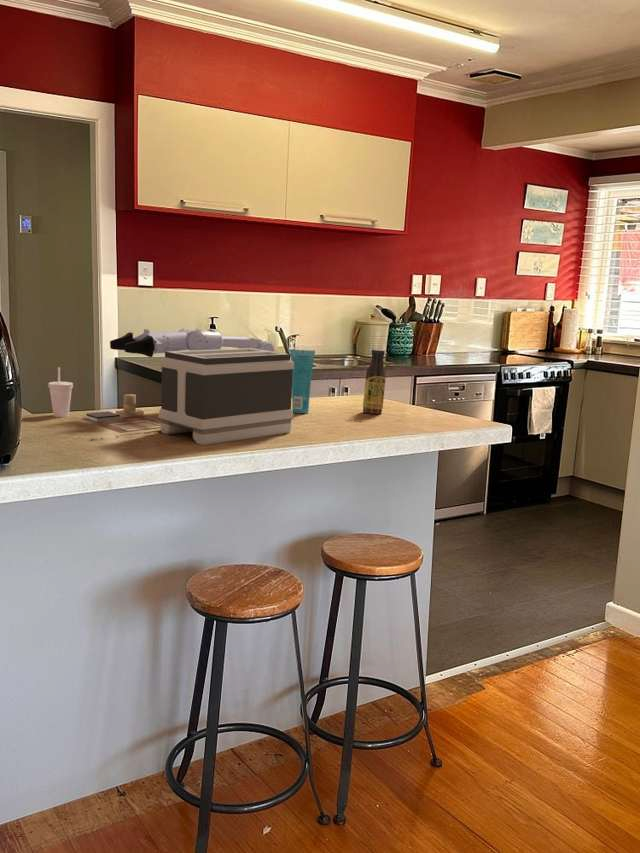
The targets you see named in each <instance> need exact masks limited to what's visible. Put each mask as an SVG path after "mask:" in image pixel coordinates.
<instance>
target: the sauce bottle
mask: <svg viewBox="0 0 640 853" xmlns="http://www.w3.org/2000/svg"><path fill="white" fill-rule="evenodd" d="M385 353H386V352H385V350H384V349H379V348H378V349H377V348H376V349H375V348H373V349H371V361H370V365H369V366H368V368H367V369H366V372H365V373H366V374H365V375H366V376H365V379H364V380H365V384H364V393H363V400H362V412H363V413H365V414H368V415H369V414H371V415H381V414H382V412H383V408H384V399H385V389H386V377H387V376H386V368H385V366H384V359H385V358H384V356H385V355H386V354H385Z"/></svg>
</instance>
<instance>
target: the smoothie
mask: <svg viewBox="0 0 640 853" xmlns="http://www.w3.org/2000/svg"><path fill="white" fill-rule="evenodd" d="M47 386H48V388H49V391H50V392H49V394H50V400H51V407H52V414H53V417H56V418H67V417H69V415H70V408H71V401H72V400H71V399H72V390H73V388H74V383H73V382H71V381H61V366H60V367H57V381H51V382H50V381H49V382H48V384H47Z"/></svg>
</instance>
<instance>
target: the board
mask: <svg viewBox="0 0 640 853" xmlns="http://www.w3.org/2000/svg"><path fill="white" fill-rule="evenodd" d="M77 419H79V420H81V421H84V422H87V423H90V424H93V425H96V426H99V427H102V428H104V429H106V430H107V429H108V430H111V431H114V432H116V433H121V434H122V435H121V434H119V437H122V436H124V434H123V433H126V436H130V435H132V436H133V433H132V432H136V433H135V435H139V434H141V432H140V431H145V432H143V434H148V433H149V431H150V430H154V431H151V433H154V432H158V430H159V429H161V420H160V419H159V418H155V417H151V416H148V415H145V414H144V417H138V418H129V419H123V420H119V421H110V422H100V423H96V422H93V421H90V420H87V419H84V417H78V418H77ZM157 429H158V430H157ZM148 430H149V431H148ZM129 432H131V433H129ZM127 433H128V434H127Z"/></svg>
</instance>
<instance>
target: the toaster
mask: <svg viewBox="0 0 640 853" xmlns="http://www.w3.org/2000/svg"><path fill="white" fill-rule="evenodd" d="M159 364H160V368H161V397H160V398H161V399H160V400H161V404H160V406H161V408H160V409H159V411H158V418H157V419H158V420H161V428H160V433H161V434H164V435H168V436H169V435H174V434H183V433H190V432H191V433H192V439H193V440H194V442H195V443H196V444H197V445H200V446H209V445H215V444H223V443H229V442H237V441H243V440H248V439H249V440H250V439H256V438H263V437H271V436H277V434H278V435H285V434H289V433H291V428H292V420H293V419H294V413H293V410H292V375H293V369H294V362H293V361H292V360H291V353H286V352H278V351H275V352H273V351H266V350H260V349H253V348H220V349H214V350H181V351H165V353H164V357H163V358H161V360H160V363H159ZM284 433H285V434H284Z"/></svg>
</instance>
